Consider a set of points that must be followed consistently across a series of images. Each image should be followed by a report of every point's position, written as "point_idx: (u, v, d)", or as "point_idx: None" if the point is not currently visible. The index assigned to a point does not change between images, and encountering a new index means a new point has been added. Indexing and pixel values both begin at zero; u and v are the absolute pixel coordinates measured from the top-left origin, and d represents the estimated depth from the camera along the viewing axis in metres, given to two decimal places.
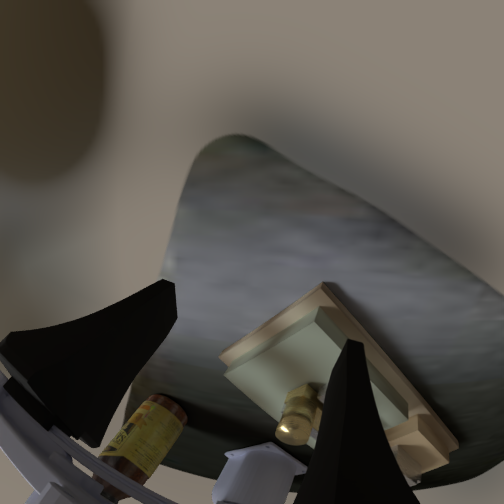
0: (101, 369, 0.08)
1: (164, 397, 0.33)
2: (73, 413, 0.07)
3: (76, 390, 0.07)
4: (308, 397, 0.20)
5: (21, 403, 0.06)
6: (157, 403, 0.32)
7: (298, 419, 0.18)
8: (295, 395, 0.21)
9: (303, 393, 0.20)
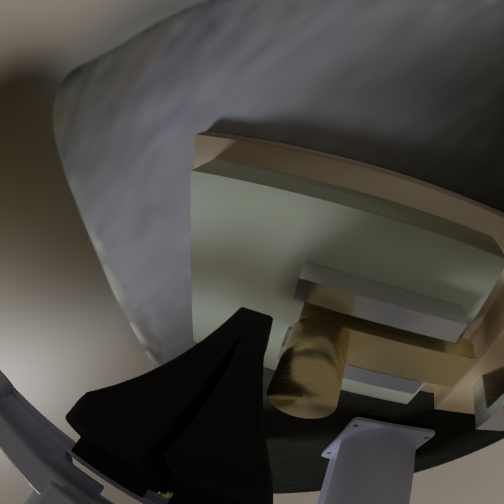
0: None
1: None
2: (168, 471, 0.06)
3: None
4: (314, 316, 0.11)
5: (103, 470, 0.05)
6: None
7: (292, 360, 0.09)
8: None
9: (301, 312, 0.11)
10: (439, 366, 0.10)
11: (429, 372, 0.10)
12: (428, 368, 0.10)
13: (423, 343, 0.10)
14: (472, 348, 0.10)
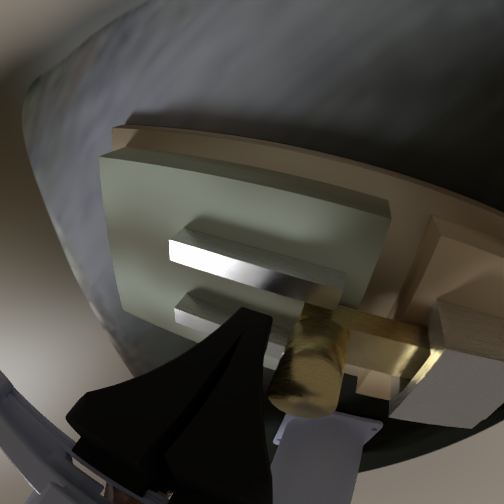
0: None
1: None
2: (168, 472, 0.06)
3: None
4: (314, 316, 0.11)
5: (103, 470, 0.05)
6: None
7: (292, 360, 0.09)
8: None
9: (301, 313, 0.11)
10: None
11: None
12: None
13: (423, 343, 0.10)
14: None
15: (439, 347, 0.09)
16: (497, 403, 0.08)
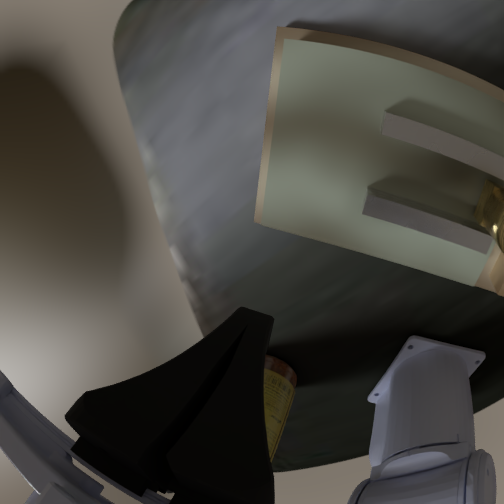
0: (194, 418, 0.08)
1: None
2: (167, 471, 0.06)
3: None
4: (502, 188, 0.10)
5: (102, 470, 0.05)
6: None
7: None
8: (486, 200, 0.10)
9: (493, 186, 0.10)
10: None
11: None
12: None
13: None
14: None
15: None
16: None
